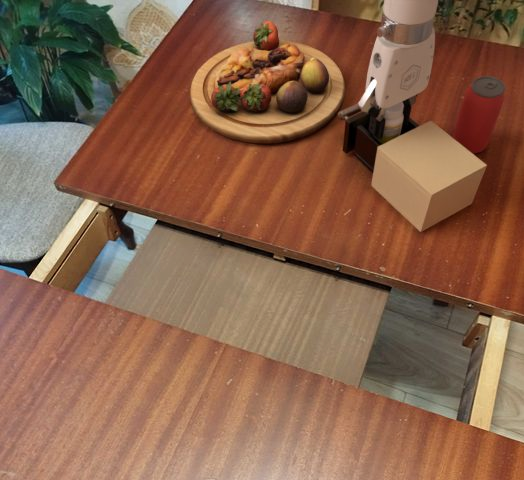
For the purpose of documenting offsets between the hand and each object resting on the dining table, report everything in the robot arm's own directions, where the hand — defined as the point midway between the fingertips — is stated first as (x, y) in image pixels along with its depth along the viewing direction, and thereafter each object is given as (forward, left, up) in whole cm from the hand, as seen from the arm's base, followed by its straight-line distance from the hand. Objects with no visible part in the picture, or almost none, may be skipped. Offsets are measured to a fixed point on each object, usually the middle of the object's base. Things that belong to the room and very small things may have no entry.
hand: (388, 127), depth 95 cm
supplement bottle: (0, 0, -4) cm, 4 cm away
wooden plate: (+7, -29, -7) cm, 31 cm away
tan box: (0, +11, -7) cm, 13 cm away
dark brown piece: (0, -2, -6) cm, 6 cm away
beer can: (-16, +6, -7) cm, 18 cm away
